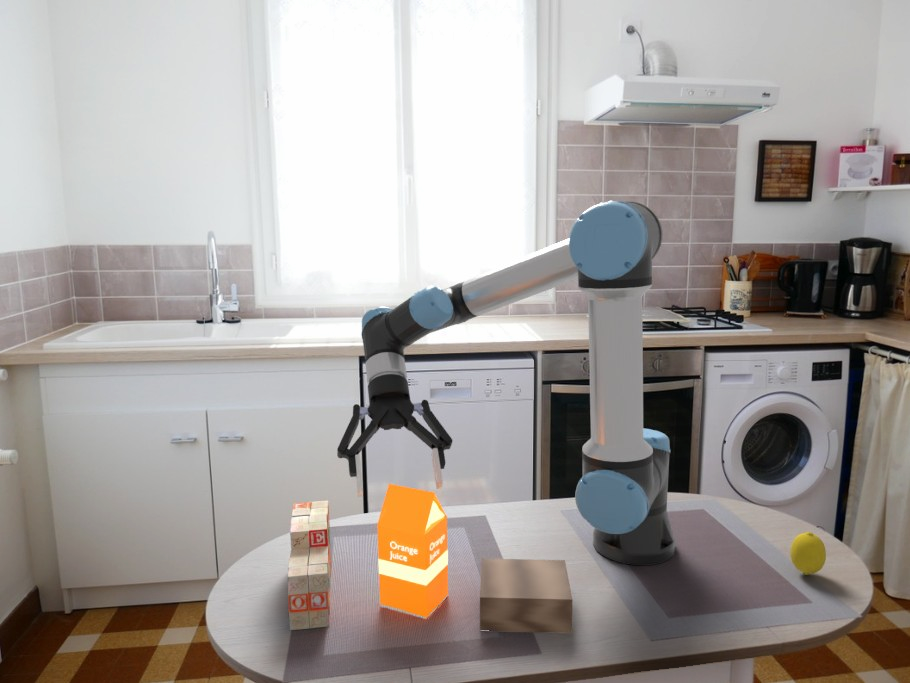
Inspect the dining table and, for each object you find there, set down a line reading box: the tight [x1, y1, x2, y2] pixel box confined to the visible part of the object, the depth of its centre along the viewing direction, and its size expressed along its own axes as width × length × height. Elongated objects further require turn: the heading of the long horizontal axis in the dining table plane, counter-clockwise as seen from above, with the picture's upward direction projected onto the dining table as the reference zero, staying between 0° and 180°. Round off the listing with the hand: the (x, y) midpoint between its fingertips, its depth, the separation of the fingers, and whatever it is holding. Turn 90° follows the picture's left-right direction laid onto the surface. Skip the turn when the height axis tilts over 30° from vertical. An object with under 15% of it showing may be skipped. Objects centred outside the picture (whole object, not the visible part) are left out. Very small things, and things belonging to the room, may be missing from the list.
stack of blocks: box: [287, 500, 333, 631], centre depth 118 cm, size 21×6×12 cm, turn 9°
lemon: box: [789, 531, 827, 576], centre depth 122 cm, size 6×6×8 cm
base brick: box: [479, 558, 573, 634], centre depth 113 cm, size 14×12×6 cm
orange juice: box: [376, 483, 449, 617], centre depth 114 cm, size 8×9×20 cm
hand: (400, 489), depth 119 cm, fingers open, 13 cm apart
